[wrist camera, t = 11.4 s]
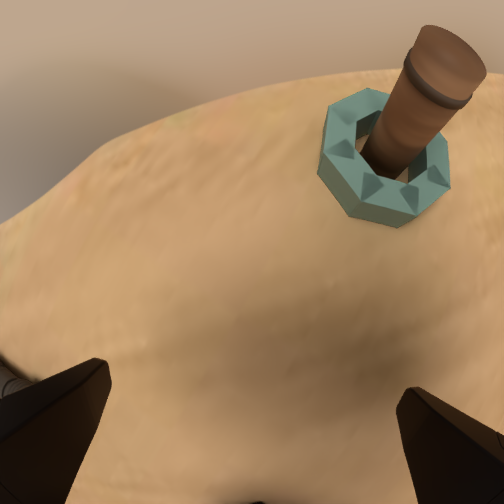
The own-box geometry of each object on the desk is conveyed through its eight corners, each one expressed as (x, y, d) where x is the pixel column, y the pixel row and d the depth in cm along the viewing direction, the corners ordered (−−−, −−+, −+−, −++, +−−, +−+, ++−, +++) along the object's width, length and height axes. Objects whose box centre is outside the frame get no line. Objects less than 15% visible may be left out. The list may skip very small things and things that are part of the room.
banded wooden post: (406, 173, 19) (497, 74, 6) (376, 194, 19) (468, 89, 6) (379, 138, 20) (442, 21, 7) (347, 157, 20) (402, 28, 7)
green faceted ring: (447, 186, 19) (469, 171, 15) (370, 248, 19) (387, 240, 15) (379, 101, 20) (390, 77, 17) (294, 146, 20) (296, 122, 17)
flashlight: (-1, 385, 21) (-30, 391, 16) (-6, 347, 22) (-36, 350, 16) (76, 436, 19) (44, 455, 14) (71, 391, 20) (33, 406, 15)
